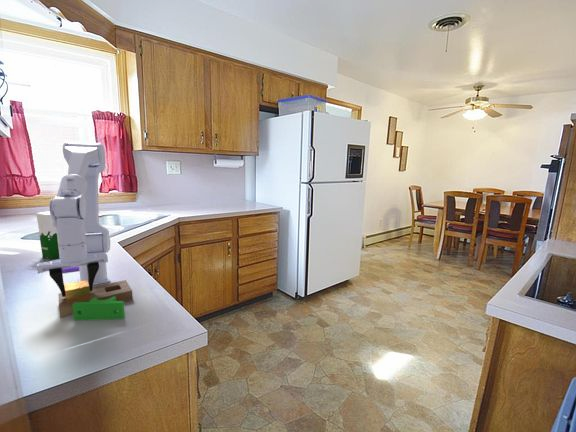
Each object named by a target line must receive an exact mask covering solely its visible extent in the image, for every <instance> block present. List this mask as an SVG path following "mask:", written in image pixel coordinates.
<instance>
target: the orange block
mask: <svg viewBox="0 0 576 432" xmlns="http://www.w3.org/2000/svg"><path fill="white" fill-rule="evenodd" d="M64 286H65V294H66V302H69V301H73V300H78V299H82V298H87V297H90V289H89V283H88V280H85V281H79V280H78V281H74V282H70V283H64Z"/></svg>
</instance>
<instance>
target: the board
mask: <svg viewBox="0 0 576 432" xmlns="http://www.w3.org/2000/svg"><path fill="white" fill-rule="evenodd" d="M94 297H97V299H98V300H106V299H109V298H112V297H116V301H124V303H127V302H130V301H134V300H133V289H132V288H131V287H130V284H129V282H128V281H127V280H126V279H124V280H119V281H114V282H108V283H103V284H98V285H93V288H92V291H90V297H87V298H82V299H78V300H73V301H69V302H66V296H65V297H62V293H61V292H60V293H58V311H59V318H64V317H69V316H72V315H73V306H72V304H74V303H75V302H89V301H90V300H91V299H92V298H94ZM81 312H82V311H81ZM73 316H74V315H73Z"/></svg>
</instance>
